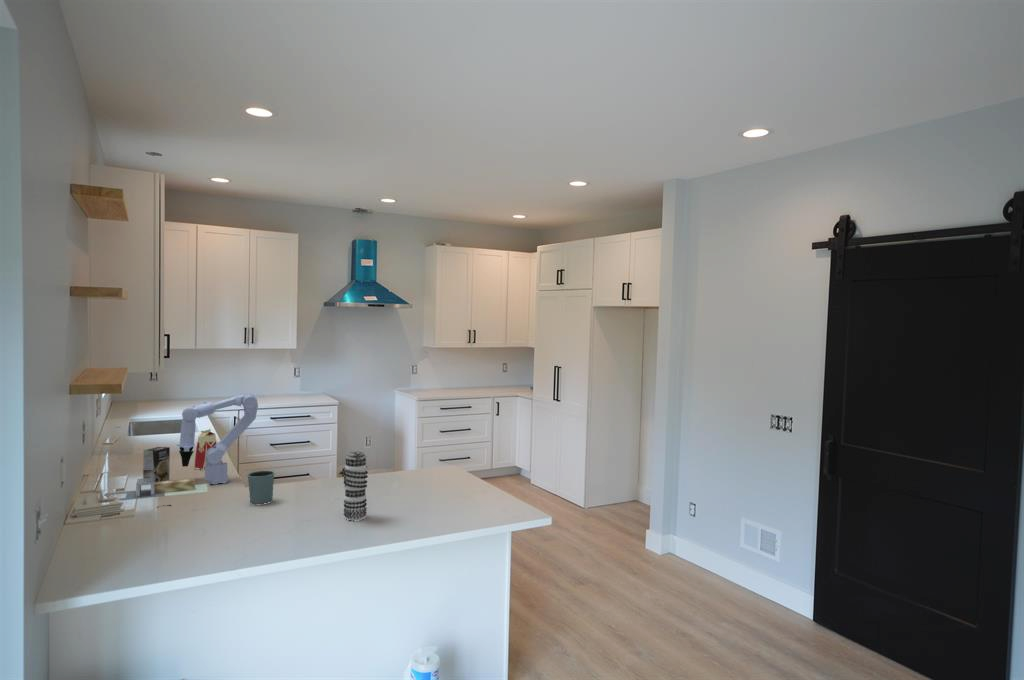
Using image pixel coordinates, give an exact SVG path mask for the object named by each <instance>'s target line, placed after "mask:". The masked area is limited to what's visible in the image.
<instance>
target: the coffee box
mask: <svg viewBox="0 0 1024 680" xmlns="http://www.w3.org/2000/svg"><path fill="white" fill-rule="evenodd" d="M170 450H171V448H170V446H169V447H167V446H157V447H152V448H148V449H144V450H143V455H142V456H143V457H142V459H143V461H142V462H143V463H142V464H143V465H142V466H143V467H142V469H143V470H142V472H143V473H142V478H153V477H155V482H163V481H170V462H171V461H170V459H171V458H170V457H171V456H170V454H171V453H170V452H171V451H170Z"/></svg>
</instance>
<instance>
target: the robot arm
mask: <svg viewBox="0 0 1024 680" xmlns="http://www.w3.org/2000/svg"><path fill="white" fill-rule="evenodd" d="M232 406H237V407H243V413H244V415H242V417H241V418H240V419H239V420H238V421H237V422H236V423H235V424H234V426H233V427H232V428H231V429H230V430H229V431H228V432H227V433H226V434H225V435H224V437H222V438H221V439H220V440H219V441H218V442H217V444H216V445H215V446H214V447H211V448H209V449H208V450H207V452H206V457H207V462H206V463H205V471H204V482H208V483H209V484H213V485H219V484H218V483H223V484H227V483H228V479H229V475H228V463H227V462H223V460H222V459H223V456H224V455H225V454H226V452H227V451H228V450H229V448H230V447H231V446H232V444H234V443H235V441H237V439H238V438H239V437H240V436H241V435H242V434H243V433H245V431H246V430H247V428H248V427H249V426H250V425H251V424H252V423H253V422H254V421H255V420H256V417H257V414H258V413H257V412H258V407H259V403H258V399H257V398H256V396H255V395H254V394H252V393H245V394H239V395H236V396H232V397H228V398H227V399H226V398H225V399H223V400H220V401H217V402H212V401H206V400H205V401H203V403H201V404H197V405H195V404H193V405H192V406H189V407H185V408H184V409H183V411H182V412H181V415H182V416H181V417H182V420H181V426H180V438H179V443H177V444H176V447H179V451H178V452H179V455H180V458H181V464H182V467H184V468H185V467H189V464H190V460H191V458H192V456H193V453H194V450H193V449H194V447H195V445H196V444H195V440H196V439H195V437H196V420H197V418H198V419H201V418H203V417H207V416H210V415H213V414H214V413H215V412H216V411H217V410H220V409H224V408H228V407H232ZM226 482H227V483H226Z"/></svg>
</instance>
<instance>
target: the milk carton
mask: <svg viewBox="0 0 1024 680" xmlns="http://www.w3.org/2000/svg"><path fill="white" fill-rule="evenodd" d="M200 432H201V433H200V434H199V435H198V437H197V441H196V448H195V449H196V450H195V457H194V466H193V467H194V468H199V469H202V470H205V463H206V462H207V457H206V452H207V450H208V449H209V448H211V447H214V446H215V445H216V444H217V443H218V442H217V437H216V433H214V432H212V431H211V428H209V429H207V430H200ZM194 468H193V469H194Z"/></svg>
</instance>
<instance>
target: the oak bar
mask: <svg viewBox="0 0 1024 680" xmlns="http://www.w3.org/2000/svg"><path fill="white" fill-rule="evenodd" d="M195 485H196V478H187V479H186V478H185V479H175V480H169V481H161V482H155V491H154V494H159V493H169V492H179V491H190V490H195Z"/></svg>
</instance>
